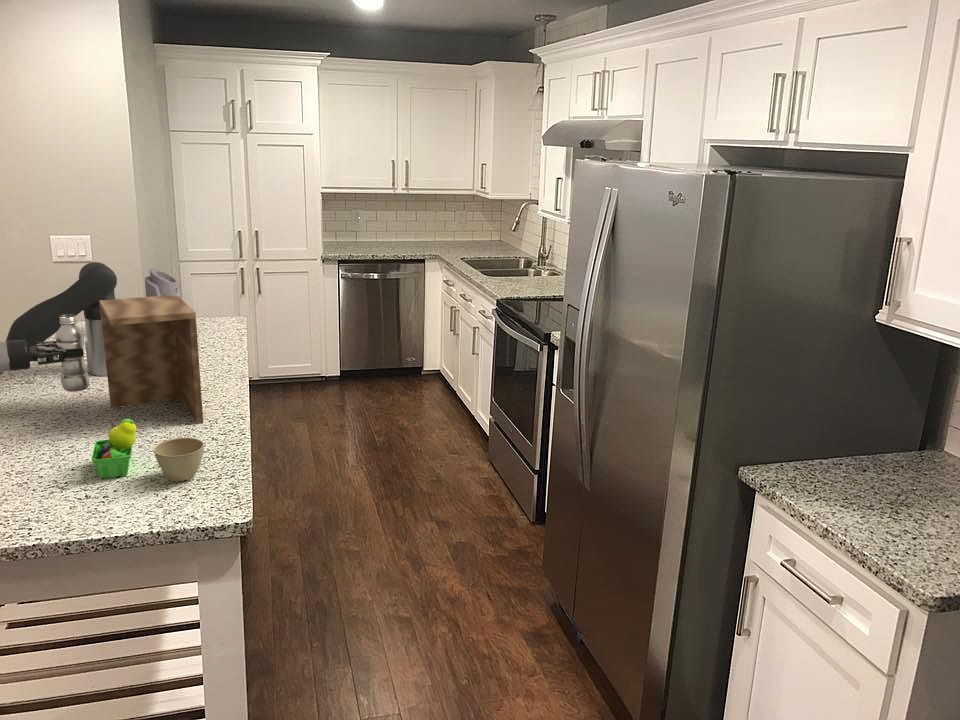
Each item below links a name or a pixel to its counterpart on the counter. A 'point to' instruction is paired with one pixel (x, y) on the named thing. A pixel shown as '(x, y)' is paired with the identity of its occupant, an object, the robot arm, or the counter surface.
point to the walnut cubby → (151, 352)
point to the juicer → (161, 284)
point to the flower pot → (179, 457)
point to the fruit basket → (115, 450)
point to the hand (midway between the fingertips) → (81, 349)
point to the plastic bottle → (72, 368)
